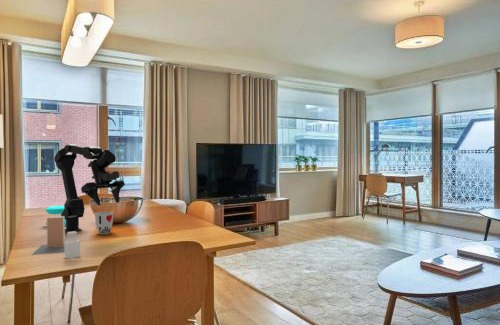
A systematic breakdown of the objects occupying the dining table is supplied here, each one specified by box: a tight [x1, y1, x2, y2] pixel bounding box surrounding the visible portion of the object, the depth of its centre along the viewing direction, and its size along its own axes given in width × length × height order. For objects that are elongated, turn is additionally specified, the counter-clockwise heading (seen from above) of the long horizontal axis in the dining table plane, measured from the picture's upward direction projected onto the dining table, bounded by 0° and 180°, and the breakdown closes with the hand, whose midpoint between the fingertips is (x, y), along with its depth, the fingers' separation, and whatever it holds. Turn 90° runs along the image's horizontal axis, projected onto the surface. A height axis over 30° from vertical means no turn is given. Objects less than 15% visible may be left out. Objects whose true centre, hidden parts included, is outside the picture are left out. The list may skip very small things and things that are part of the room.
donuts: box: [45, 205, 66, 226], centre depth 186 cm, size 10×10×10 cm
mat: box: [31, 244, 65, 256], centre depth 140 cm, size 14×12×1 cm
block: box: [46, 215, 66, 247], centre depth 144 cm, size 2×6×12 cm, turn 106°
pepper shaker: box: [64, 231, 81, 260], centre depth 129 cm, size 4×4×10 cm
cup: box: [94, 211, 114, 235], centre depth 168 cm, size 8×8×10 cm
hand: (108, 203), depth 158 cm, fingers open, 9 cm apart
